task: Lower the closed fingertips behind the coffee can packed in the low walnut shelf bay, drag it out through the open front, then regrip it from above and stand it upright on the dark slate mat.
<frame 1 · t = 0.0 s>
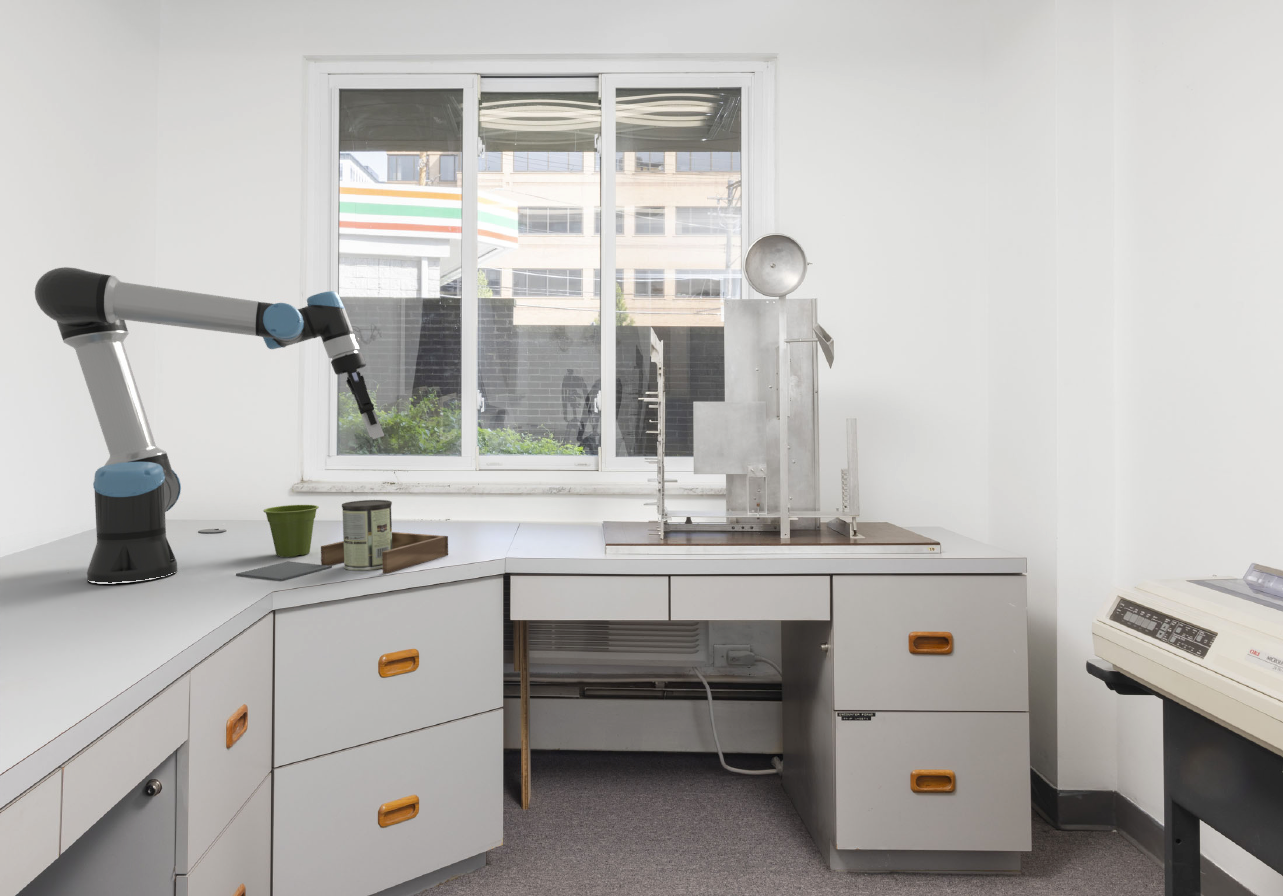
hand: (377, 436, 177), 28 cm above the worktop, fingers open, 13 cm apart
shelf bay: (381, 562, 160), on the worktop
plant pot: (292, 555, 169), on the worktop
slate mat: (285, 571, 151), on the worktop
coffee can: (368, 566, 156), on the worktop
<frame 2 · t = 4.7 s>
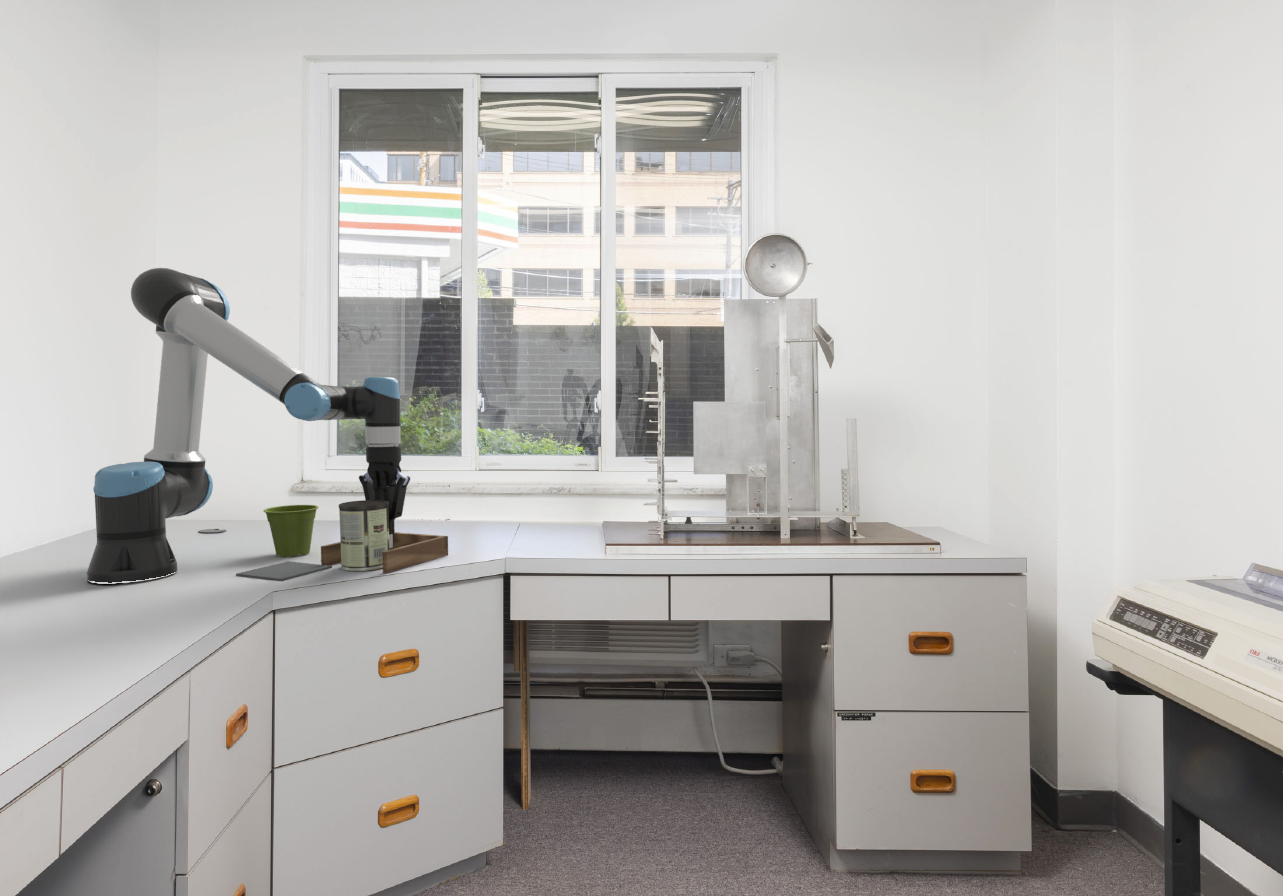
hand: (386, 548, 161), 3 cm above the worktop, fingers closed
coffee can: (365, 567, 156), on the worktop, touching gripper
everything else where it was.
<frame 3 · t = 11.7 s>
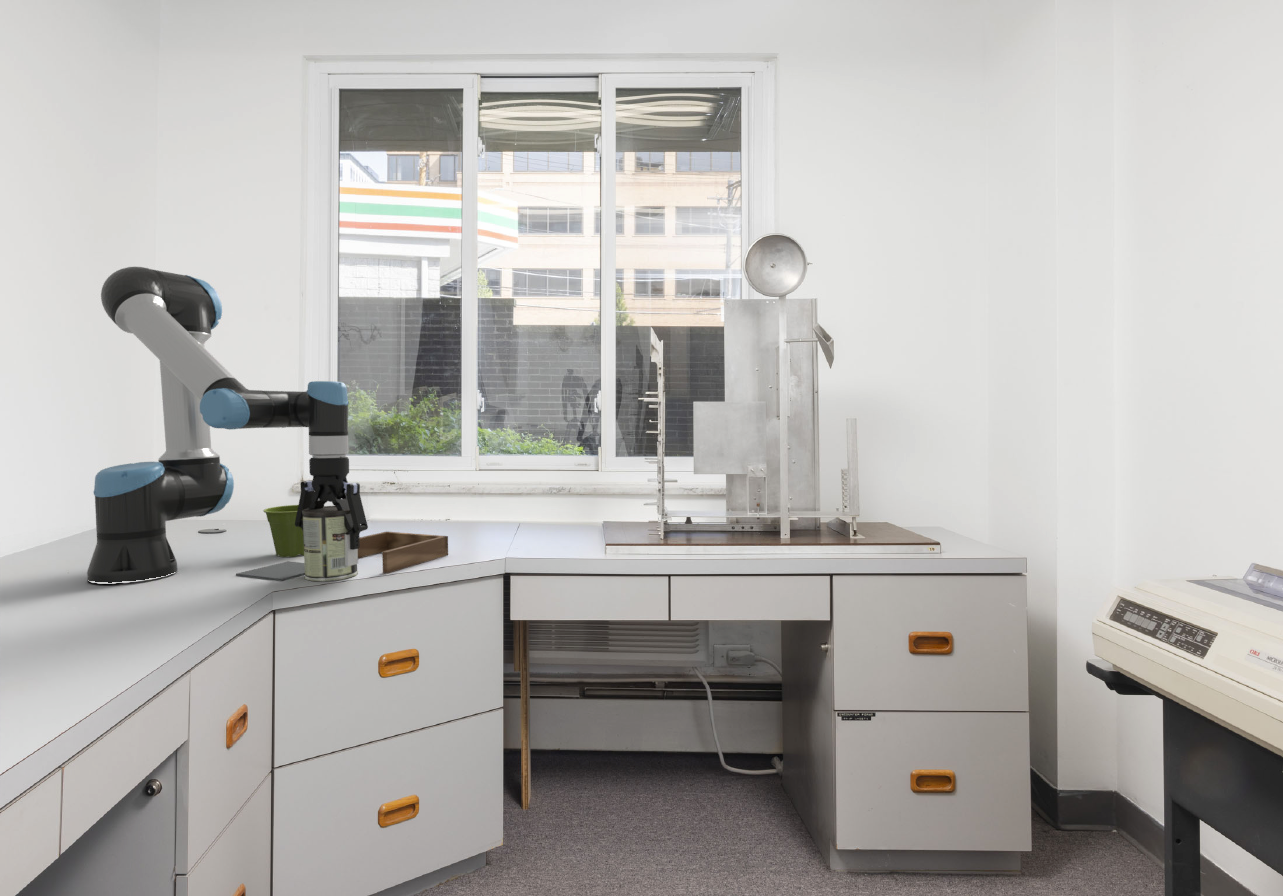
hand: (331, 562, 147), 3 cm above the worktop, fingers closed on coffee can, 10 cm apart
coffee can: (331, 576, 147), on the worktop, touching gripper
everything else where it was.
when the fingers open (4 cm above the worktop, at t = 17.2 s): coffee can stays where it is, resting on slate mat.
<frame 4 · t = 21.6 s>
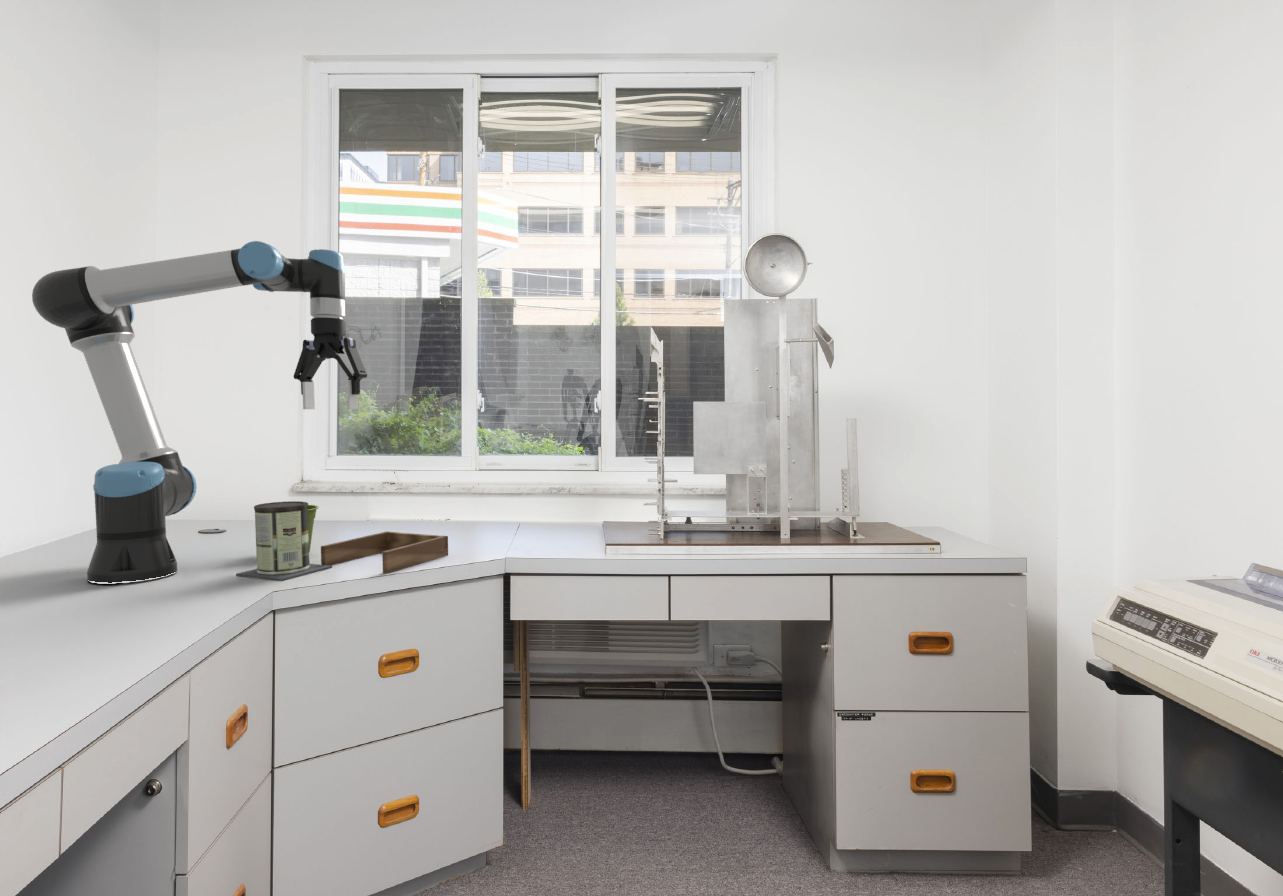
hand: (330, 409, 166), 35 cm above the worktop, fingers open, 13 cm apart
coffee can: (283, 570, 151), resting on slate mat
everything else where it was.
at the end: coffee can inside the target area on the slate mat (0.4 cm from its centre), point 0.2 cm above the slate mat's base; coffee can tilted 0°; the gripper is holding nothing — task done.
